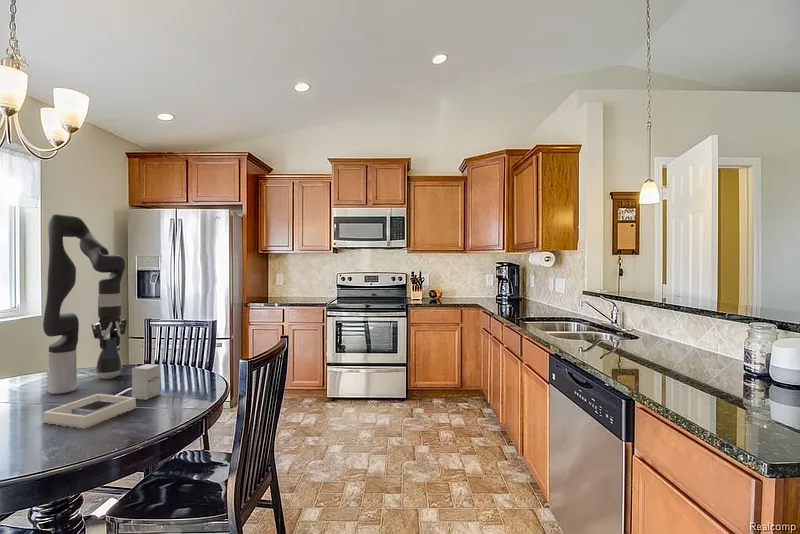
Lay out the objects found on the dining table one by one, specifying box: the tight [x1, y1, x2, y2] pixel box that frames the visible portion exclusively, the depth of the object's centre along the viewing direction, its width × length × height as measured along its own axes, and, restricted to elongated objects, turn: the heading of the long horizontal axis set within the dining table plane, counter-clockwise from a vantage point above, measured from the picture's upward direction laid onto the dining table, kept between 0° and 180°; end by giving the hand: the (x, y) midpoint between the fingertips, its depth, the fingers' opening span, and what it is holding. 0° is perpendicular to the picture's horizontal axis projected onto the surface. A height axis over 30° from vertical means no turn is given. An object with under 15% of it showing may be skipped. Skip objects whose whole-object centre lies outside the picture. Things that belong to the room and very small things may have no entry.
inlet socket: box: [72, 400, 120, 416], centre depth 150 cm, size 10×10×3 cm
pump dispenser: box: [95, 347, 123, 380], centre depth 198 cm, size 10×10×15 cm
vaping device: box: [102, 330, 118, 360], centre depth 165 cm, size 3×5×12 cm, turn 161°
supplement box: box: [131, 363, 161, 401], centre depth 171 cm, size 7×7×13 cm
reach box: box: [42, 393, 137, 430], centre depth 150 cm, size 18×20×4 cm
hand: (110, 347), depth 165 cm, fingers closed on vaping device, 5 cm apart
